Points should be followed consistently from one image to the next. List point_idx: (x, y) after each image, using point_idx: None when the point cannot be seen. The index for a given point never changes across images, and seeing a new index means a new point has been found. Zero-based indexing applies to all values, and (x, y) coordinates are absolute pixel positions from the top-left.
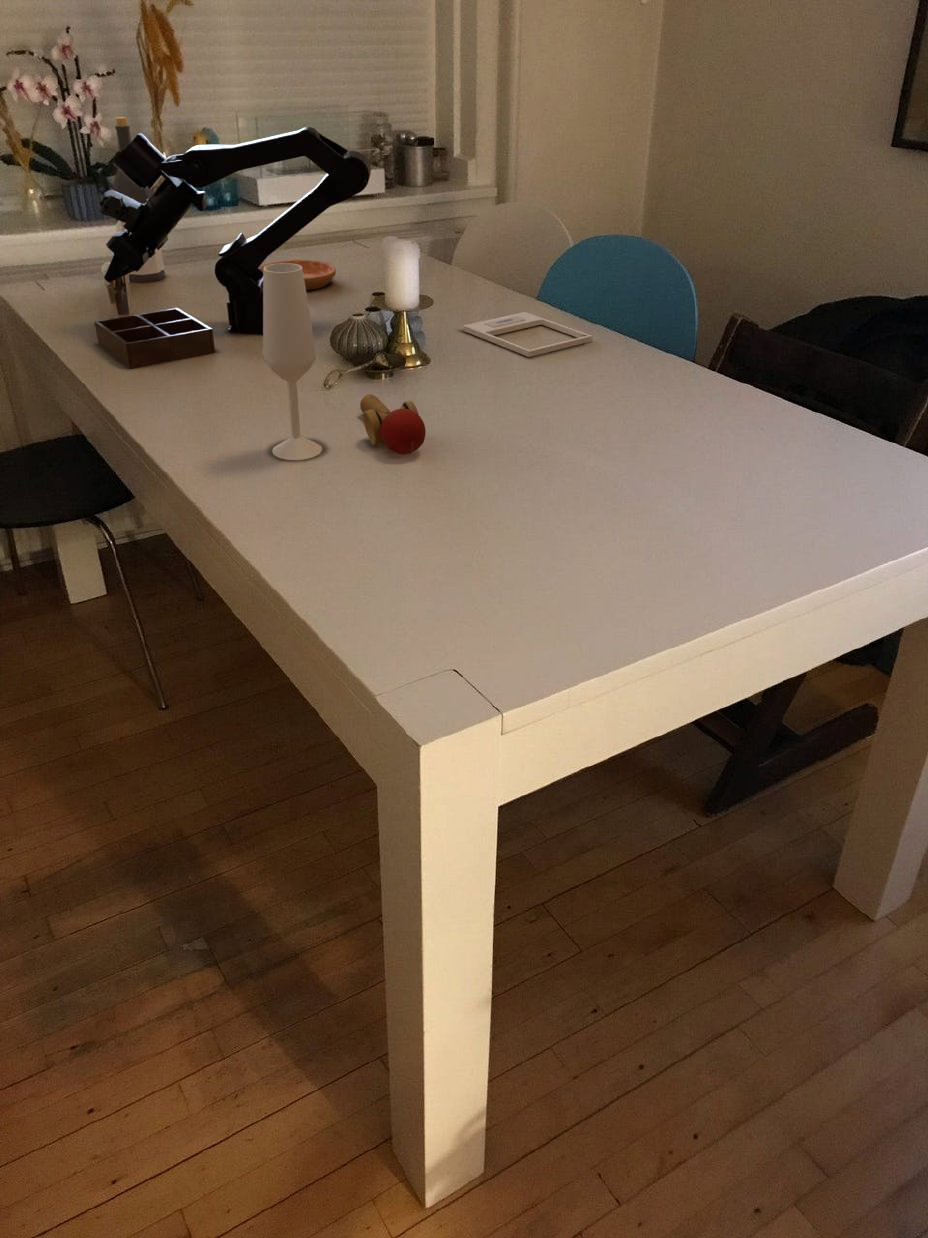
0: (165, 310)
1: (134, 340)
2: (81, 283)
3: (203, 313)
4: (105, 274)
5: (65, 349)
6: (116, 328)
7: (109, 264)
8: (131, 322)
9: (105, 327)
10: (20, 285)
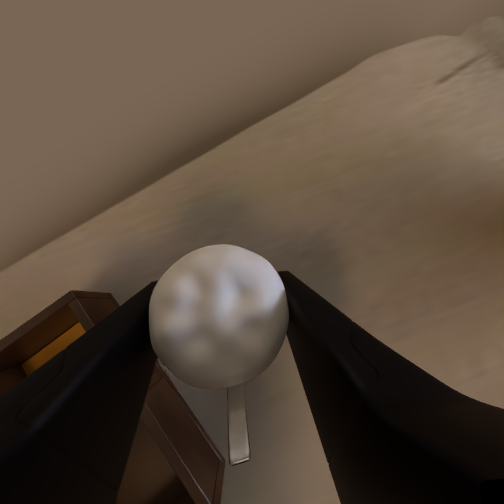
0: (182, 482)
1: None
2: (500, 123)
3: None
4: (138, 292)
5: (83, 238)
6: None
7: (169, 302)
8: None
9: (5, 344)
10: (450, 43)
